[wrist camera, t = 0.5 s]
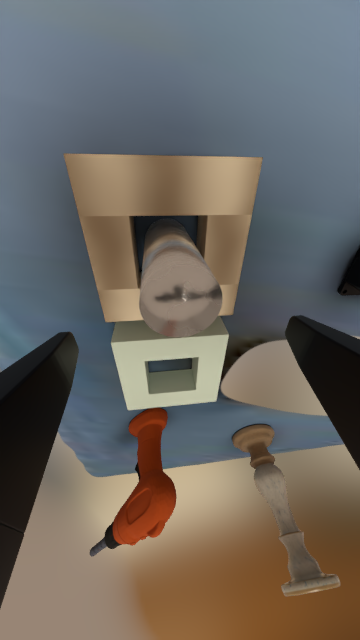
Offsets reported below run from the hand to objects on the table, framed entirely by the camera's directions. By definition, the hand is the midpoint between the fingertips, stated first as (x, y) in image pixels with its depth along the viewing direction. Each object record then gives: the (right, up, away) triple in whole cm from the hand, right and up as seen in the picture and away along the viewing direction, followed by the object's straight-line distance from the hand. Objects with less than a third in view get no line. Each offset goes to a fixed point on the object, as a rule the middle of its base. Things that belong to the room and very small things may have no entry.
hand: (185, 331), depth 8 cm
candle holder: (+15, -24, +35) cm, 45 cm away
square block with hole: (-2, -4, +19) cm, 19 cm away
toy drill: (-9, -20, +29) cm, 36 cm away
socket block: (-1, +8, +10) cm, 13 cm away
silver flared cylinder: (-1, +8, +10) cm, 13 cm away
